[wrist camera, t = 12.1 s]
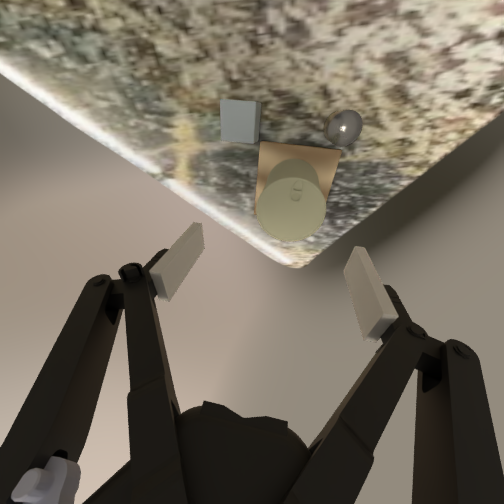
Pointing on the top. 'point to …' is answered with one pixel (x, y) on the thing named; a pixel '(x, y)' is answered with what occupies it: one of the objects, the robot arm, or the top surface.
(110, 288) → the robot arm
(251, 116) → the block gray
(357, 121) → the tin
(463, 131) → the top surface
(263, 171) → the board
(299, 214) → the can
